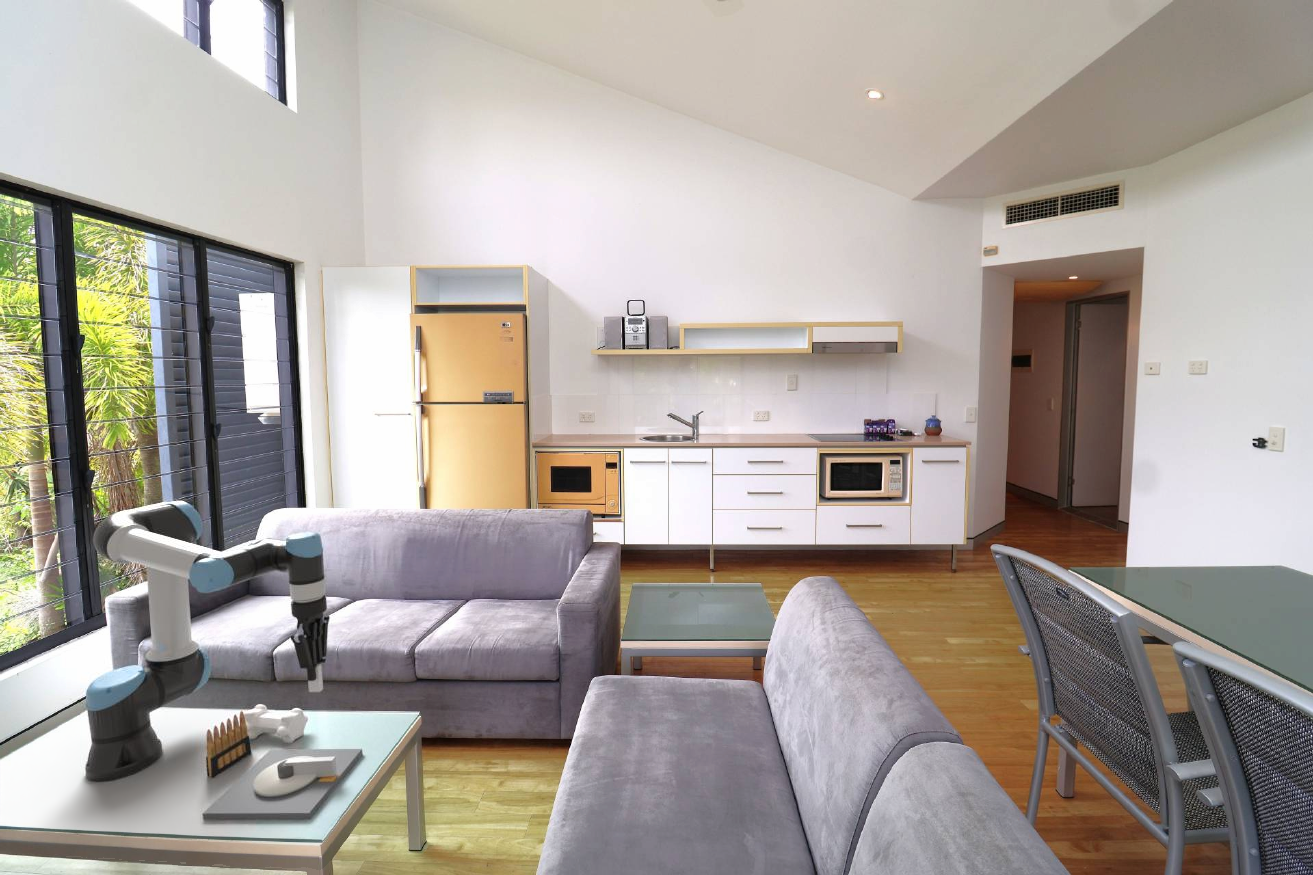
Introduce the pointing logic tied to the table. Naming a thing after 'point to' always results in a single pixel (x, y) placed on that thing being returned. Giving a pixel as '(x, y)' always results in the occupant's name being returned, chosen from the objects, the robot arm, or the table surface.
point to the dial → (292, 775)
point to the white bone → (275, 723)
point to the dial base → (295, 805)
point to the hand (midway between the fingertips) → (316, 690)
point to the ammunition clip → (227, 746)
